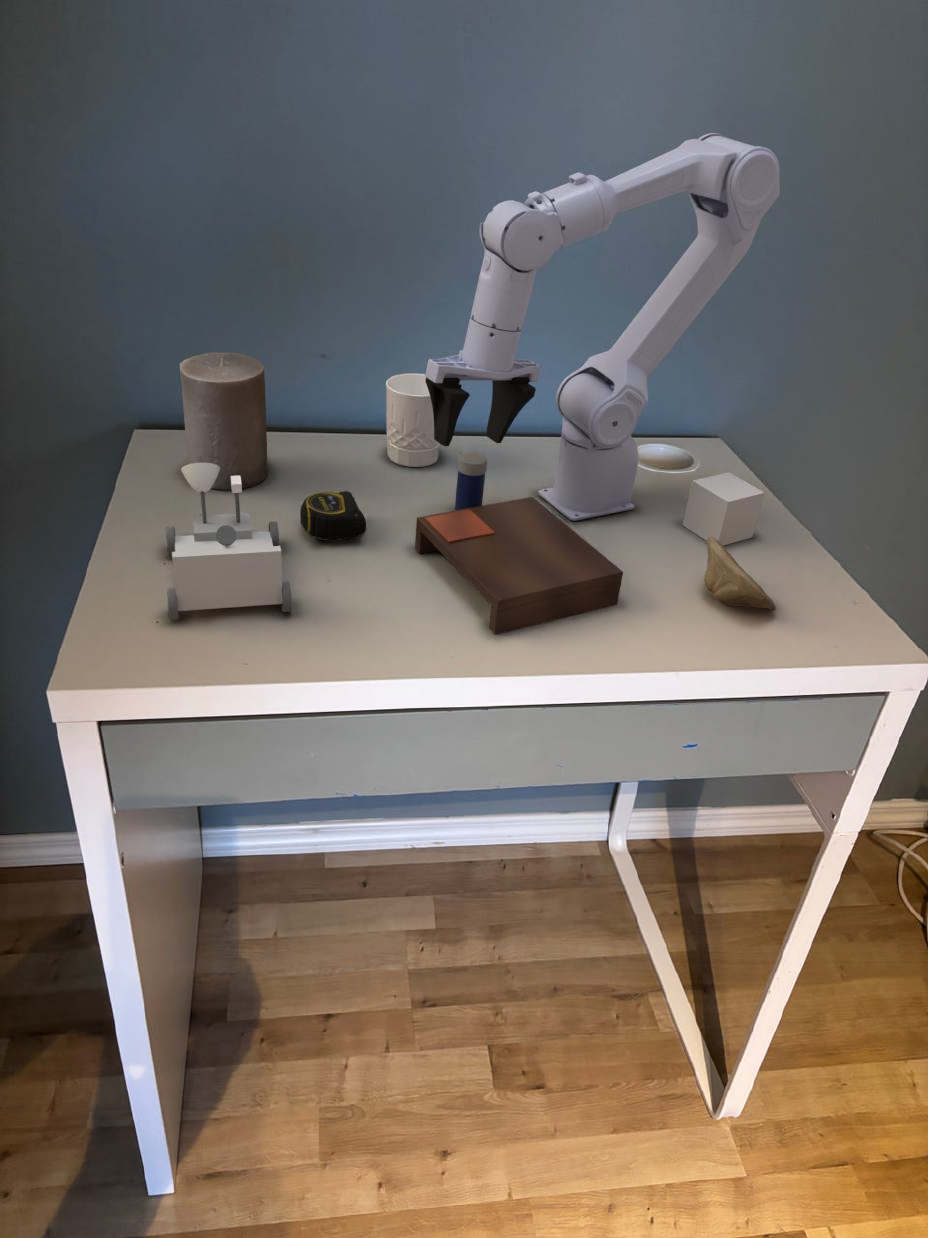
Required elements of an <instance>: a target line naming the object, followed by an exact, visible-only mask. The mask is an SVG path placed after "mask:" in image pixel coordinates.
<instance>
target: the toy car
mask: <svg viewBox="0 0 928 1238" xmlns="http://www.w3.org/2000/svg"><path fill="white" fill-rule="evenodd" d="M219 470H220V467H219V466H218V465H215V464H212V463H202V456H198V463H192V464H188V463H187V464H185V465H183V466H182V467H181V468H180V471H181V473H182V475H183V477H184V479H185V480H186V481H187V483H188V484H189V486H190V487H191V488H192V489H193V490H194V491H195V492H197V493H198V494H200V504H201V505H200V506H201V514H195V515H192V525H193V535H190V534H189V535H176V528H175V526H167V527H166V528H165V535H166V536H165V538H166V547H167V555H168V556H171V558H172V568H173V578H174V579H173V580H174V588H167V590H166V591H167V592H166V595H167V597H166V598H167V609H168V610H167V611H168V619H169V620H170V621H175V620H179V619H180V612H183V611H198V610H200V611H201V610H212V609H227V608H242V607H243V608H244V607H254V606H255V607H256V606H269V605H270V606H271V605H280V606H281V610H282V613H283V612H284V613H285V612H286V613H287V612H291V611H292V608H293V604H292V603H293V602H292V601H293V600H292V589H291V584H290V583H291V582H290V581H288V580H285V581H283V565H282V563H283V562H282V548H281V545H280V535H279V534H280V533H279V525H278V522H277V521H269V522H268V531H253V528H252V522H251V516H250V514H251V513H250V512H241V511H240V510H241V509H240V494H242V493H243V488H242V483H241V477H240V476H237V475H234V476H231V488H232V489H231V493H232V494H234V503H235V504H234V505H235V513H216V514H215V513H214V514H207V508H206V495H205V494H206V493H207V492H209V491H210V490H211V489H212V488H211V487H212V486H213V484H214V482H215V480H216V478H217V476H218V473H219Z"/></svg>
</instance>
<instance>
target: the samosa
mask: <svg viewBox="0 0 928 1238" xmlns="http://www.w3.org/2000/svg"><path fill="white" fill-rule="evenodd" d="M706 545H707V564H706V565H707V566H706V569H705V571H704V578H703V581H704V584H705V587H706V589H707V590H708V591H709V592H710V593H711V594H712V595H713V597H714V598H715V599H716V600H717V601H719V602H720V603H722V604H724V605H726V606H741V607H742V606H743V607H751V608H758V609H763V608H765V609H767V610H770V611H775V610H777V606H776V604H775V602H774V600H773V599H772V598H771V597H770V596H769V595H768V593H766V591H765V590H764V589H763V588H762V586H760V585H759V583H758V582H757V581H756V580H755V579H754V578H753V577H751V575H750V574H748V573H747V572H746V570H744V568H743V567H742V566H740V564H739V563H738V562H737V561H736V559H735V558H734V557H733V556H732V554H731V553H730V552H729V551H728V550H727V549H726V548H725V546H724V545H722V544H721V543H719V541H718V540H716V539H715V538H714V537H711V536H710V537H708V540H707V541H706Z"/></svg>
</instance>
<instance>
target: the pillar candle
mask: <svg viewBox="0 0 928 1238" xmlns="http://www.w3.org/2000/svg"><path fill="white" fill-rule="evenodd" d="M179 373H180V383H181V384H180V385H181V395H182V408H183V419H184V420H183V421H184V432H185V433H184V434H185V441H186V442H185V444H186V454H187V455H186V456H187V465H188V464H192V463H198V456H202V463H212V464H215V465H218V466H219V467H220V470H219V473H218V476H217V478H216V480H215V482H214V484H213V486H212V487H211V489H213V490H224V491H225V490H226V491H232V488H231V476H234V475H237V476H240V477H241V483H242V489H245V488H246V489H247V488H249V487H252V486H255V485H257V484H259V483H261V482H263V481H264V480H266V479H267V477H268V475H269V469H268V436H267V435H268V433H267V431H268V430H267V429H268V428H267V406H266V404H267V402H266V380H265V367H264V364H263V363H262V361H260V360H258V359H257V358H255V357H253V356H250V355H247V354H244V353H243V354H242V353H236V352H207V353H202V354H201V353H200V354H197V355H194V356H191V357H188V358H186V359H183V360H182V361H181V362H180V364H179Z"/></svg>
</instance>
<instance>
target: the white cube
mask: <svg viewBox="0 0 928 1238" xmlns="http://www.w3.org/2000/svg"><path fill="white" fill-rule="evenodd" d="M764 497H765V492H764V491H763V490H761V489H759V488H757V487H755V486H753V485H752V484H751V483H748V482H747V481H745V480H743V479H742V478H740V477H738V476H736V475H734V474H733V473H731V472H729V471H728V472H723V473H719V474H715V475H711V476H706V477H701V478H697V479H693V480H692V481H691V485H690V490H689V494H688V498H687V503H686V507H685V512H684V515H683V520H682V526H683V527H685V528H686V529H688V530H689V531H691V532H692V533H693V534H695V535H697V536H699V537H700V538H701V539H703V540H705V541H706V542H707V540H708V537H710V536H711V537H714V538H715V539H716V540H718V541H719V543H721V544H722V545H723V546H726V545H730V544H734V543H737V542H740V541H745V540H747V539H751V538H753V536H754V533H755V529H756V527H757V522H758V518H759V515H760V512H761V508H762V505H763V500H764Z"/></svg>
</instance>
